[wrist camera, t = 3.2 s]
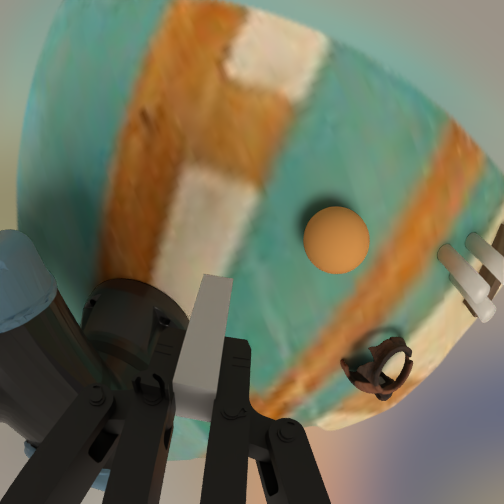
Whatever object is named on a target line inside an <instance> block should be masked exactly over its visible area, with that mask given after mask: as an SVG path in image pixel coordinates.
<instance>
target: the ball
mask: <svg viewBox="0 0 504 504" xmlns="http://www.w3.org/2000/svg"><path fill="white" fill-rule="evenodd" d="M303 241H304V248H305V252H306V254H307V256H308V258H309V259H310V261H311V262H312V263H313V264H314V265H315V266H316V267H317V268H319V269H320V270H322V271H324V272H327V273H331V274H342V273H346V272H349V271H351V270H353V269H355V268H356V267H357V266H359V265H360V264H361V262H362V261H363V260H364V258H365V257H366V254H367V252H368V249H369V232H368V229H367V226H366V224H365V223H364V221H363V220H362V218H361V217H360V216H359V215H358V214H356V213H355V212H354V211H352V210H350V209H348V208H344V207H336V206H334V207H328V208H325V209H323V210H321V211H319V212H317V213H316V214H315V215H314V216H313V217H312V218H311V219H310V221H309V222H308V224H307V226H306V228H305V232H304V239H303Z"/></svg>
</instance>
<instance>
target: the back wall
mask: <svg viewBox="0 0 504 504" xmlns="http://www.w3.org/2000/svg"><path fill="white" fill-rule="evenodd" d="M492 247H493V248H494V249H495V250H496V251H498V252H499V253H500V254H501V255H502V256H503V257H504V225H503V224H501V225H500V228H499V230H498V233H497V235H496V238H495V240H494V242H493V245H492ZM479 275H480V276H481V277H482V278H483V279H484V280H485V281H486V282H487V283H488V284H489V286H490V292H489V294H488V296H487V297H488V298H489V299H490V300H492V299H493V297H494V295H495V294H496V292H497V290H498V288H499V286H500V285H501V282H500V281H499V280H498V279H497V278H496V277H495V276H494V275H493V274H492V273H491V272H490V271H489V270H488V269H487V268H486V267H485V266H484V265H483V266H482V268H481V270H480V272H479ZM463 303H464V304H465V305H466V307H467V308H468V309H469V311H470V312H471V314H472V315H473V316H474V317H478V316H477V314H476V313H475V311H474V310H473V309H472V307H471V306H470V305H469V303H468V302H467V301H466V300H465V299H464V301H463Z"/></svg>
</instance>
